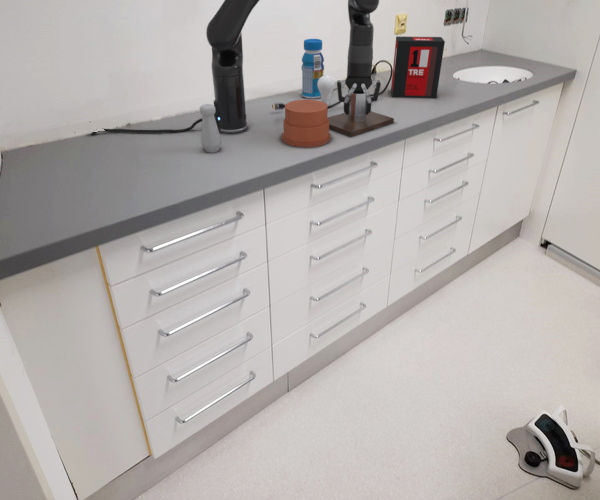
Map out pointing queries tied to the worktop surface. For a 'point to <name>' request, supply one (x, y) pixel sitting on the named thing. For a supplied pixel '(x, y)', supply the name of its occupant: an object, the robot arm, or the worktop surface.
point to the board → (358, 123)
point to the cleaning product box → (417, 67)
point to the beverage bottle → (312, 68)
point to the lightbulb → (326, 88)
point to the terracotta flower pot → (306, 123)
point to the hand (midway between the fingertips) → (356, 113)
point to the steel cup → (357, 107)
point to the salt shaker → (209, 129)
